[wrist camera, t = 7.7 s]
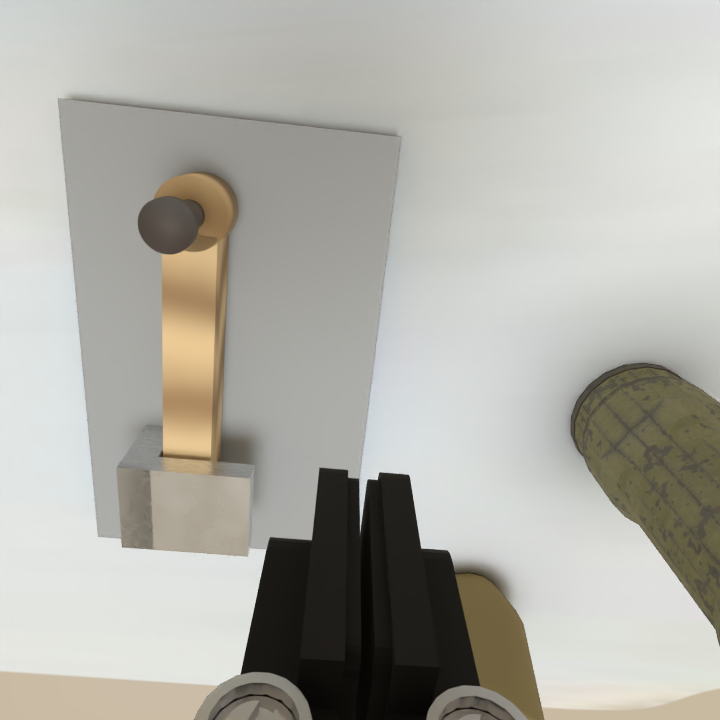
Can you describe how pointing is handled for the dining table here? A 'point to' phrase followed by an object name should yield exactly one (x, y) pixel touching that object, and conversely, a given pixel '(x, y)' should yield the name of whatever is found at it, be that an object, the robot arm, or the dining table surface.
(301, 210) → the base plate
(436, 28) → the dining table surface
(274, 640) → the robot arm
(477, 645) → the squeeze bottle
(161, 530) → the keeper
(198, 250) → the oak link
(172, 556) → the dining table surface
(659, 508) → the olive green pillar
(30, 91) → the dining table surface
